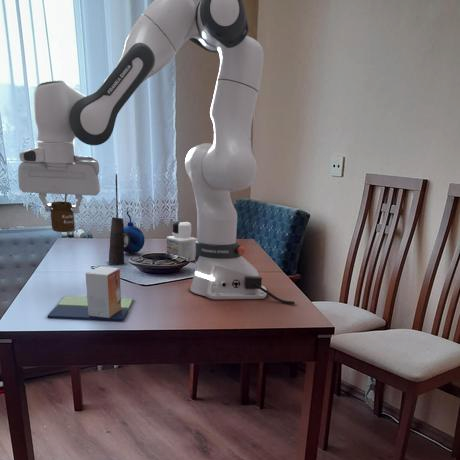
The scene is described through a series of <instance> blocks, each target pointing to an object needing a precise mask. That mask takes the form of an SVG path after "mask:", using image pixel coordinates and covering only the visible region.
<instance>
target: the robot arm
mask: <svg viewBox="0 0 460 460" xmlns="http://www.w3.org/2000/svg"><path fill="white" fill-rule="evenodd" d="M249 29H250V28H249V23H248V19H247V15H246V8H245V4H244V0H153V1H152V2H151V3H150V4H149V5H148V6H147V7H146V8H145V9H144V11H143V12H142V13H141V15H140V16H139V17H138V19H137V20H136V21H135V23H134V25H133V26H132V28H131V30H130V31H129V33H128V35H127V37H126V40H125V42H124V48H123V50H122V55H121V57H120V59H119V61H118V63H117V65H116V66H115V67H114V68H113V70H112V71H111V72H110V73H109V75H108V76H107V77H106V79H105V80H104V81H103V82H102V83H101V85H100V86H99V87H98V89H96V91H94V92H93V93H91V94H89V95H85V94H83V93H82V92H79V91H77V90H76V89H75V88H73V87H72V86H71V85H69V83H67V82H66V81H64V80H51V81H45V82H41V83H39V84H38V85H37V86H36V87H35V88H34V93H33V112H34V121H35V125H36V128H37V138H36V141H37V147H32V148H30V149H27V150H23V151H20V152H19V160H20V161H21V163H19V166H18V167H17V168H18V169H17V181H18V189H19V190H20V191H21V192H22V193H28V194H38V198H39V199H40V201H41V203H42V204H43V205H44V211H45V212H44V213H51V210H52V209H53V208H52V207H51V203H49V202H48V200H47V197H48V194H50V195H60V194H61V195H65V194H68V195H69V196H70V195H71V196H72V195H73V196H74V197H75V198H74V199H75V200H76V203H75V204H74V205H73V204H72V208H71V210H72V213H74V214H79V213H80V205H81V203H82V201H83V196H89V197H91V196H92V197H94V196H95V197H96V196H98V195H99V194H100V191H101V186H100V180H99V173H100V164H99V161H98V160H97V159H95V158H94V157H93V156H88V155H87V156H82V155H76V151H75V150H76V149H75V138H77V140H79V142H82V143H83V144H85V145H88V146H100V145H103V144H104V143H107V141H108V140H109V139H110V138H111V136H112V134H113V133H114V128H115V125H116V121H117V118H118V114H119V113H120V111H121V109H122V108H123V107H124V106H125V104H126V103H127V102H128V101H129V100H130V98H131V97H132V95H134V93H135V92H136V90H137V89H138V88H139V87H140V86H141V84H143V83H144V82H145V81H146V80H148V79H149V78H151V77H153V76H154V75H156V74H157V73H158V72H159V71H161V70H162V69H163V68H164V67H165V66H167V64H169V63H170V61H171V60H172V59H174V57H175V55H176V54H177V53H178V52H179V50H180V49H181V48H182V47H183V46H184V44H185V43H186V42H187V41H190V42H192V43H194V44H195V45H197V46H198V47H200V48H201V49H203V50H204V51H206V52H209V53H215V54H216V53H218V55H219V70H218V73H217V78H216V82H215V87H214V92H213V95H212V97H213V98H212V100H211V105H210V111H209V114H210V119H211V122H212V124H213V132H214V133H213V142H212V143H211V142H204V143H201V144H198V145H195V146H193V147H192V148H191V149H189V151H188V152H187V154H186V157H185V161H184V167H185V168H184V169H185V172H186V174H187V176H188V177H189V180H190V183H191V185H192V186H191V187H192V191H193V195H194V199H195V200H194V201H195V205H196V214H197V215H196V216H197V217H196V219H197V221H196V223H197V224H196V238H197V240H196V243H195V260H194V261H195V264H194V272H193V278H192V282H191V284H190V285H191V286H190V288H189V290H190V291H191V292H192V293H194V294H196V295H199V296H203V297H206V298H208V299H211V300H261V299H265V298H267V296H270V297H271V298H272V299H274V300H276V301H277V302H279V303H283V304H287V305H295V301H293V300H285V299H281V298H279V297H277V296H276V295H274V294H273V293H271V292H270V291H268V290H267V288H266V287H265V286H264V285H262V280H263V278H262V277H261V275H260V274H259V271H258V270H257V268H256V267H255V266H254V265H252V263H250V262H249V260H247V259H246V258H245V257H243V255H244V254H245V252H246V249H245V247H244V246H243V245H242V244H241V243H239V242H238V241H237V232H238V231H237V229H238V212H237V210H236V208H235V206H234V204H233V201H232V198H231V193H232V192H240V191H245V190H247V189H248V188H250V187H251V186H252V185H253V184H254V181H255V179H256V177H257V173H258V165H257V160H256V158H255V156H254V154H253V151H252V150H253V149H252V124H253V120H254V114H255V110H256V106H257V100H258V96H259V92H260V88H261V84H262V83H261V82H262V78H263V77H262V76H263V70H264V57H265V55H264V54H265V53H264V49H263V47H262V45H261V43H260V42H258V40H256V39H255V38H254V37H251V36H249V35H248V34H249V31H250V30H249ZM53 187H54V188H53ZM55 187H56V188H55ZM51 189H52V190H51ZM55 189H56V190H55ZM58 190H59V191H58ZM56 193H57V194H56ZM59 193H60V194H59Z"/></svg>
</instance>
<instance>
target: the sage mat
mask: <svg viewBox="0 0 460 460" xmlns="http://www.w3.org/2000/svg"><path fill="white" fill-rule="evenodd" d="M133 301H134V299H133V298H123V297H121V309H128V311H129V310H130V308H131V305H132V303H133ZM57 306H65V307H87V308H88V302H87V296H78V295H65V296H64V297H63V298H62V299H61V300H60V301H59V302H58V303H57Z"/></svg>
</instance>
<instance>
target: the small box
mask: <svg viewBox="0 0 460 460" xmlns="http://www.w3.org/2000/svg"><path fill="white" fill-rule="evenodd" d="M85 284H86V286H85V287H86V297H87V302H88V315H89V316H95V317H104V318H110V317H111V316H113V315H114V314H115V313H117V312H118V311H120V310H121V298H122V295H121V294H122V292H121V269H120V267H110V266H102V265H101V266H97V267H96V268H94V269H92V270H89V271H88V272H85Z"/></svg>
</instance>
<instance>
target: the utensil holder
mask: <svg viewBox="0 0 460 460" xmlns="http://www.w3.org/2000/svg"><path fill="white" fill-rule="evenodd" d="M53 188H54V187H53ZM55 188H56V187H55ZM51 190H52V189H51ZM55 190H56V189H55ZM58 191H59V190H58ZM57 195H59V196H61V195H62V194H60V193H59V194H57V193H56V194H50V196H51V197H52V198H55V197H56V200H59V197H57ZM68 195H69V194H64V201H52V202H51V203H50V204H51V207H52V210H51V212H50V222H51V228H52V231H54V232H55V233H71V232H73V231H75V230H76V225H75V213H72V206H73V204H72V202H69V201H67V197H68ZM54 196H55V197H54Z"/></svg>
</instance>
